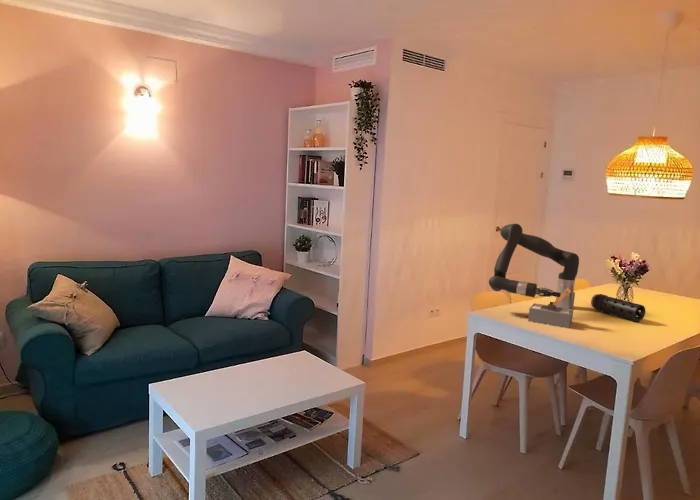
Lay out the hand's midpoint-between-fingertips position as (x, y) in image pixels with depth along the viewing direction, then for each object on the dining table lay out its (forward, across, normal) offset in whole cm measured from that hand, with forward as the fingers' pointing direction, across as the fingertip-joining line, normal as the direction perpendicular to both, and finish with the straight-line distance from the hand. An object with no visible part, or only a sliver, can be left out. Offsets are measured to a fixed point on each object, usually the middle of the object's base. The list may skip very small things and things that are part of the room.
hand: (560, 295), depth 272 cm
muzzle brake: (+26, +40, +15) cm, 49 cm away
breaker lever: (-3, 0, +7) cm, 8 cm away
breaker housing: (-3, 0, +15) cm, 16 cm away
